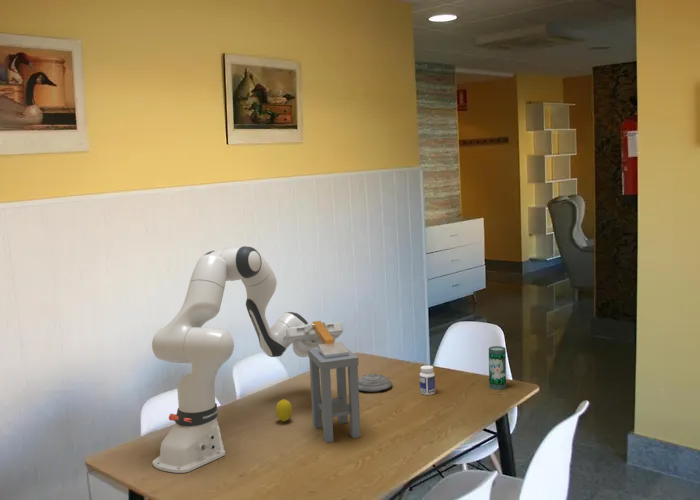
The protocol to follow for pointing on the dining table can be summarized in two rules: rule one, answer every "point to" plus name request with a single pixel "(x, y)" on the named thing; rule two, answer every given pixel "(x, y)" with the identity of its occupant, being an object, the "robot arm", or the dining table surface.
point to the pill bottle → (427, 380)
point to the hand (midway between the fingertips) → (318, 325)
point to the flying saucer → (373, 383)
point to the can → (497, 367)
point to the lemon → (284, 410)
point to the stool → (337, 405)
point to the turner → (329, 342)
